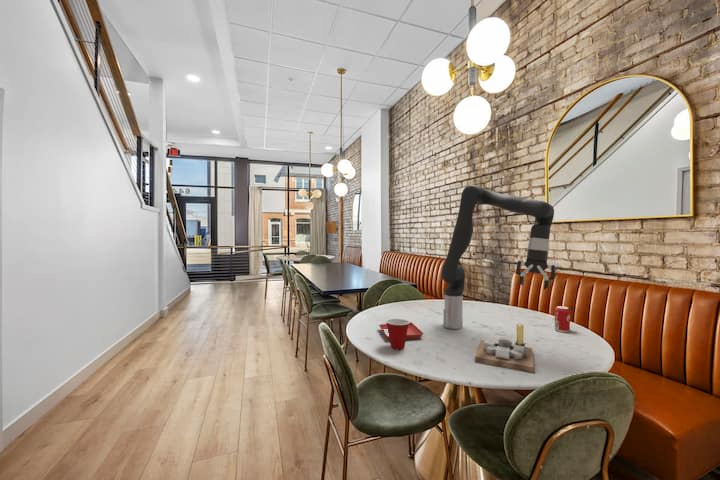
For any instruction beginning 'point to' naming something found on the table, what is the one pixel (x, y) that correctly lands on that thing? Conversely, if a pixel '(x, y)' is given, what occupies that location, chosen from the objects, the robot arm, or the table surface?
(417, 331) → the plant saucer
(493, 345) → the ring nut
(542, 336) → the table surface
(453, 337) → the table surface
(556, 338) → the table surface
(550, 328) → the table surface
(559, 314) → the beverage can
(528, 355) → the walnut base
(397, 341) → the plastic cup
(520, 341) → the brass pin
